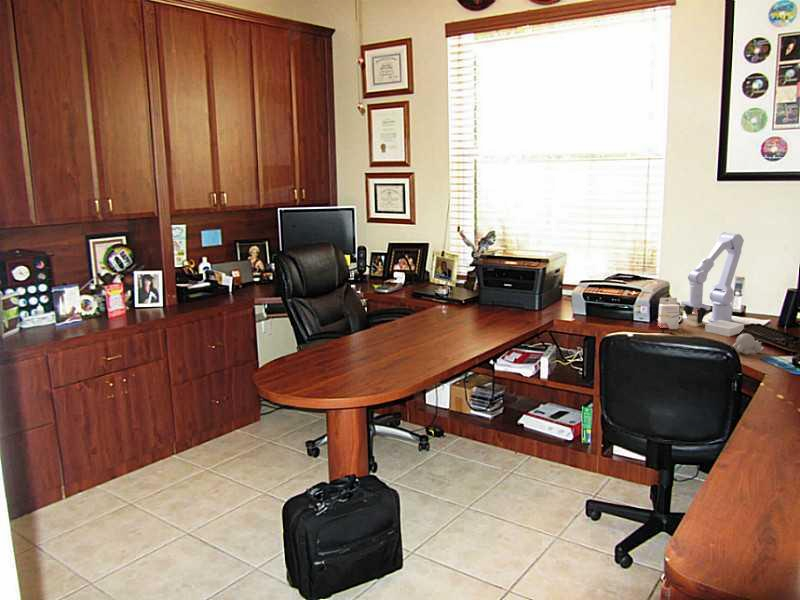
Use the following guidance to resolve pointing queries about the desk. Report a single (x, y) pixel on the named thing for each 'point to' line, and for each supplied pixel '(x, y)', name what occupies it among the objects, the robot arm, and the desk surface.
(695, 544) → the desk surface
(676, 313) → the ink cartridge box
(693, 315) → the beech block
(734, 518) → the desk surface
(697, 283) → the robot arm
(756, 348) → the round bodied animal figurine
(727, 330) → the grey box
